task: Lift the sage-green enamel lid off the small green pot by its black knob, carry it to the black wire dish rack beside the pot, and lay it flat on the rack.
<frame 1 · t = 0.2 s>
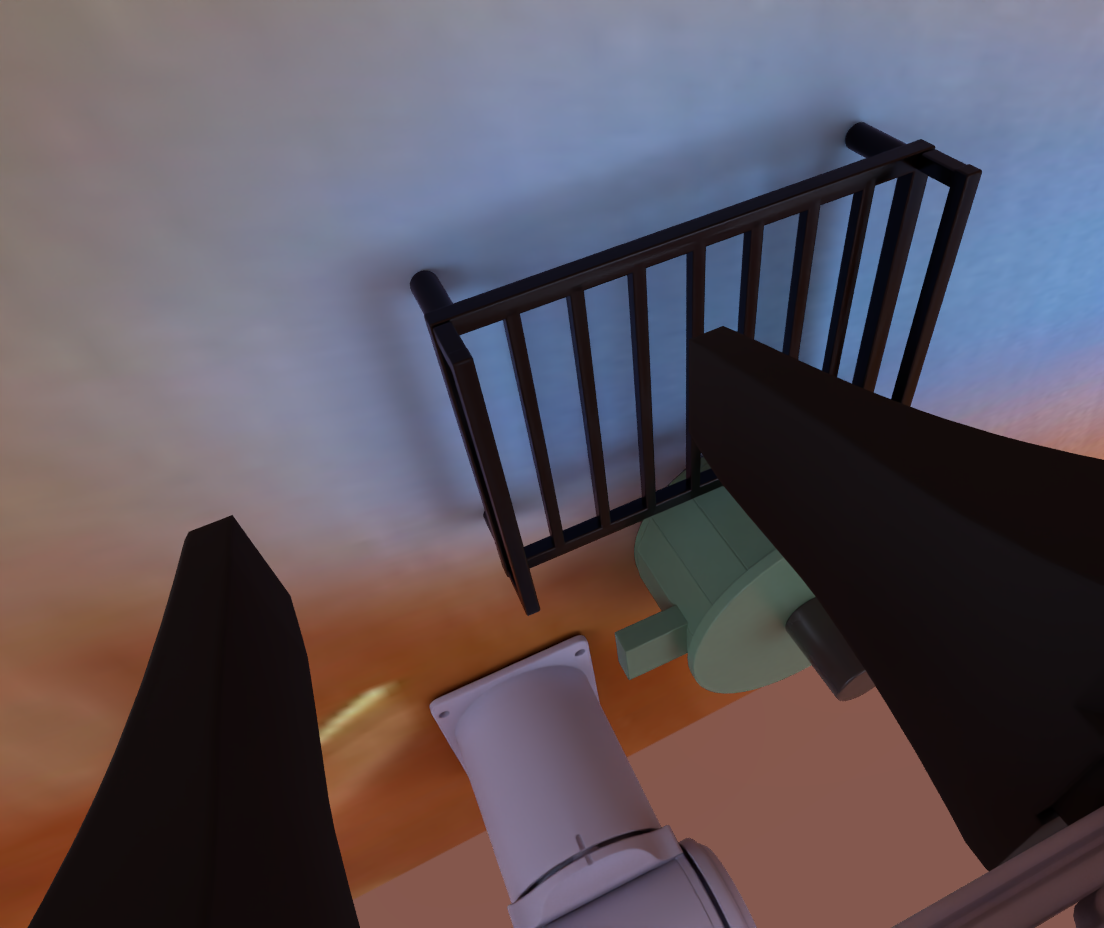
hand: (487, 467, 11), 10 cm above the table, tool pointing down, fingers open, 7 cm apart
lid: (802, 603, 30), point 5 cm above the table, touching pot
rack: (656, 341, 25), on the table
pot: (730, 513, 34), on the table
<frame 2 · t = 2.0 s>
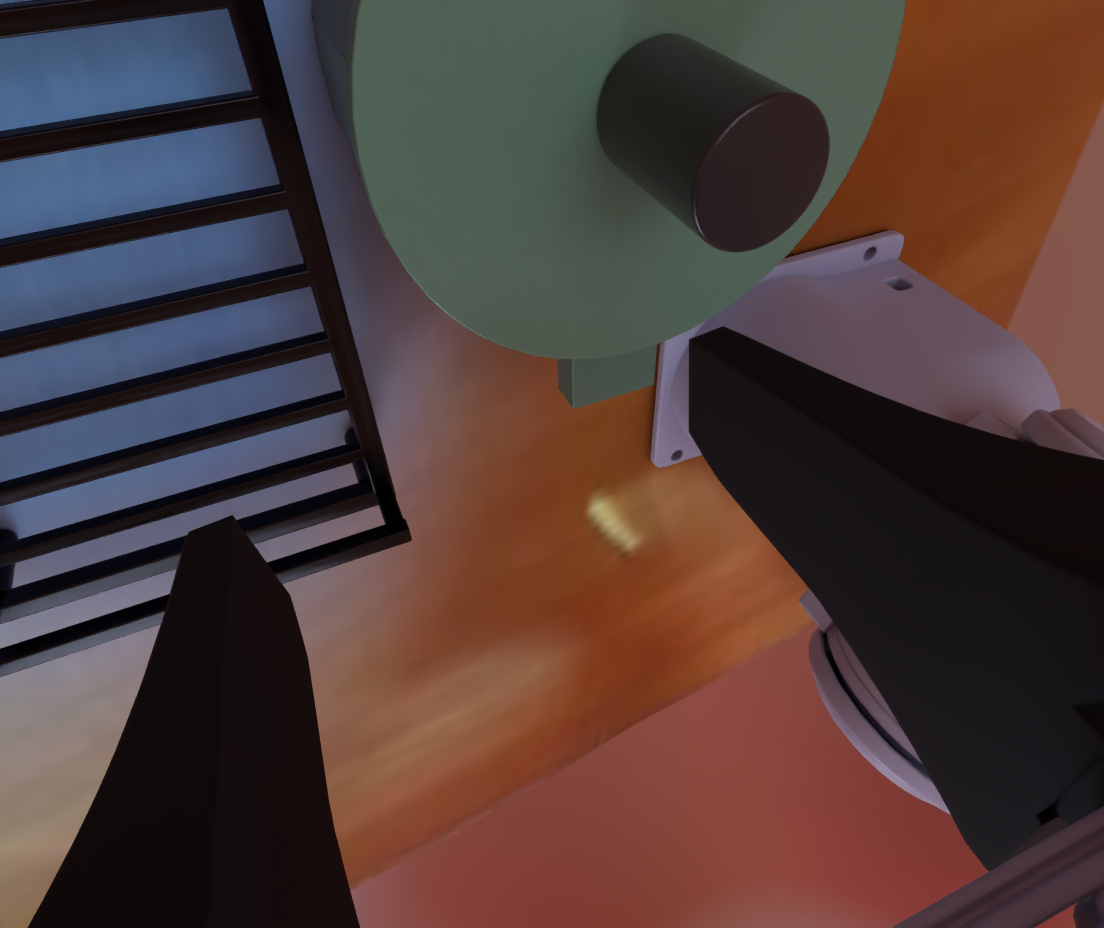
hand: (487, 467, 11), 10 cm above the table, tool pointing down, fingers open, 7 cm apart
lid: (642, 98, 14), point 5 cm above the table, touching pot
rack: (72, 272, 17), on the table
pot: (533, 25, 17), on the table
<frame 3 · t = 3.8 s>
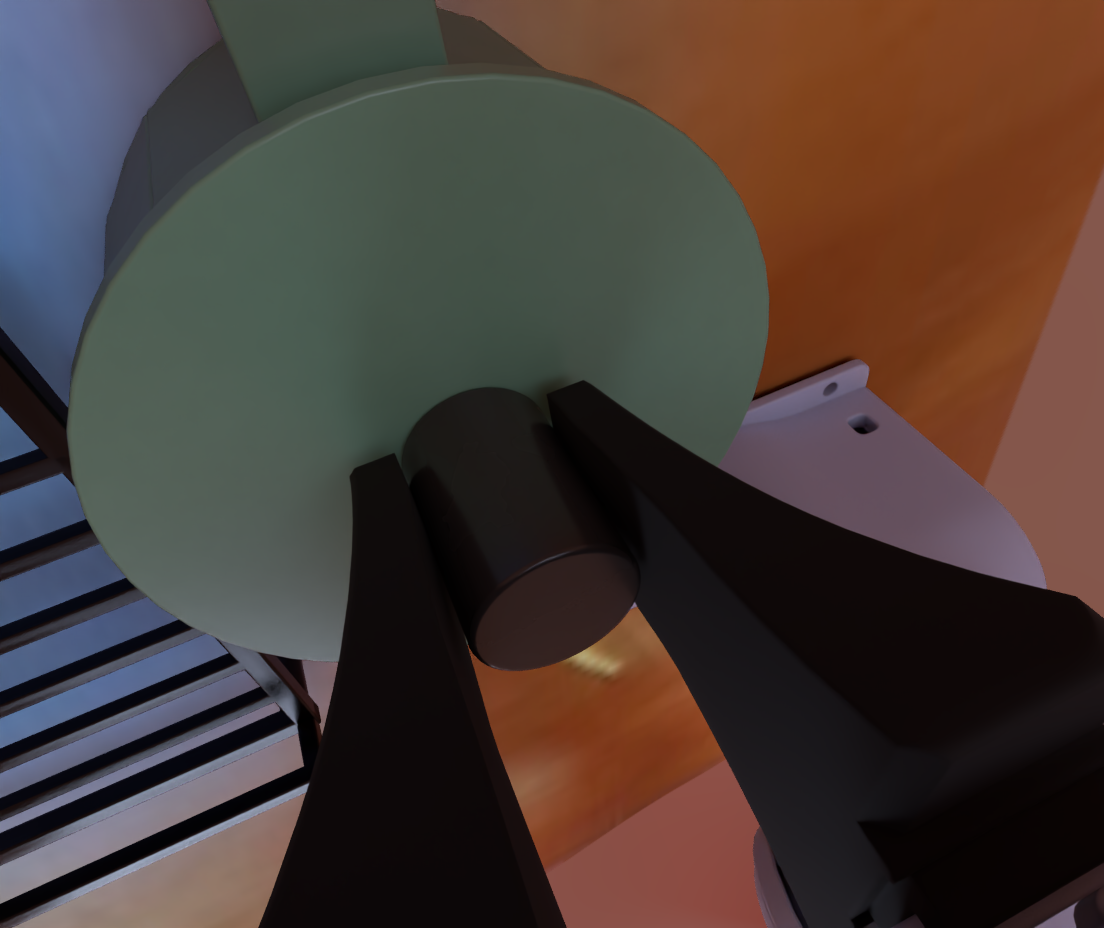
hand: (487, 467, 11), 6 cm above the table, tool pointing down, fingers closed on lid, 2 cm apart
lid: (465, 428, 12), point 5 cm above the table, touching gripper, pot
pot: (387, 271, 16), on the table
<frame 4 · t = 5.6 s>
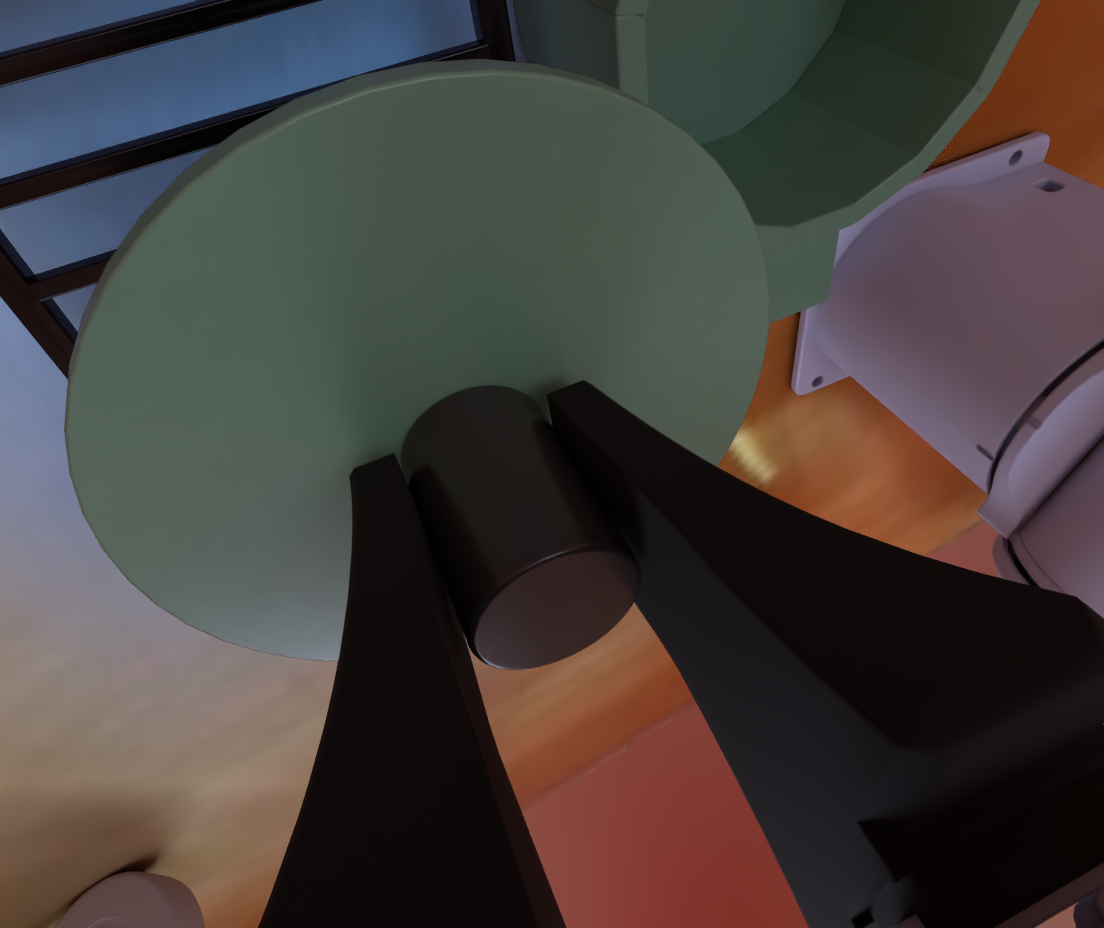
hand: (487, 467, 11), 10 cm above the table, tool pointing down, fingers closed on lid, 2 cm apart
lid: (464, 426, 12), point 9 cm above the table, touching gripper
rack: (296, 235, 18), on the table
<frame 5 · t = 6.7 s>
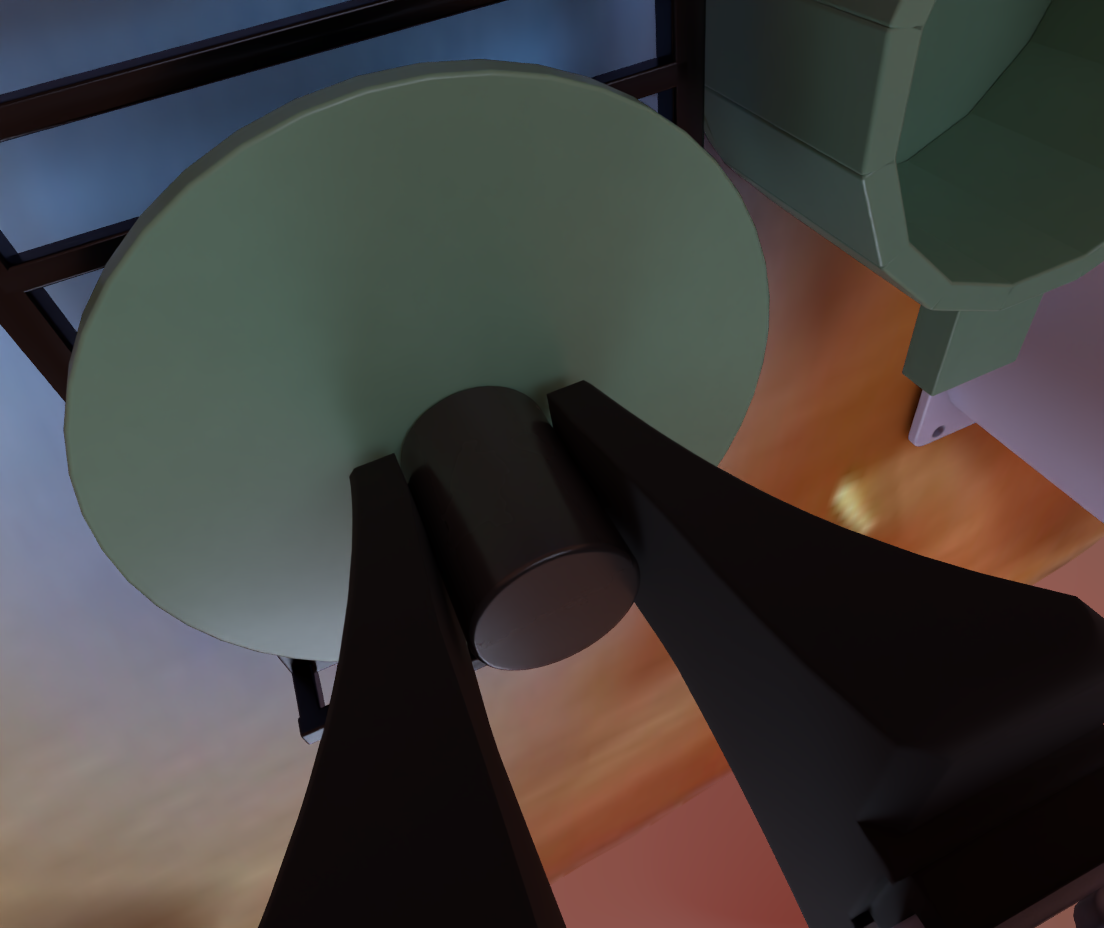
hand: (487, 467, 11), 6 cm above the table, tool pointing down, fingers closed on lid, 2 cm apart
lid: (464, 427, 12), point 5 cm above the table, touching gripper
rack: (397, 289, 15), on the table
when the fingers open (4 cm above the table, at t = 7.4 s): lid stays where it is, resting on rack.
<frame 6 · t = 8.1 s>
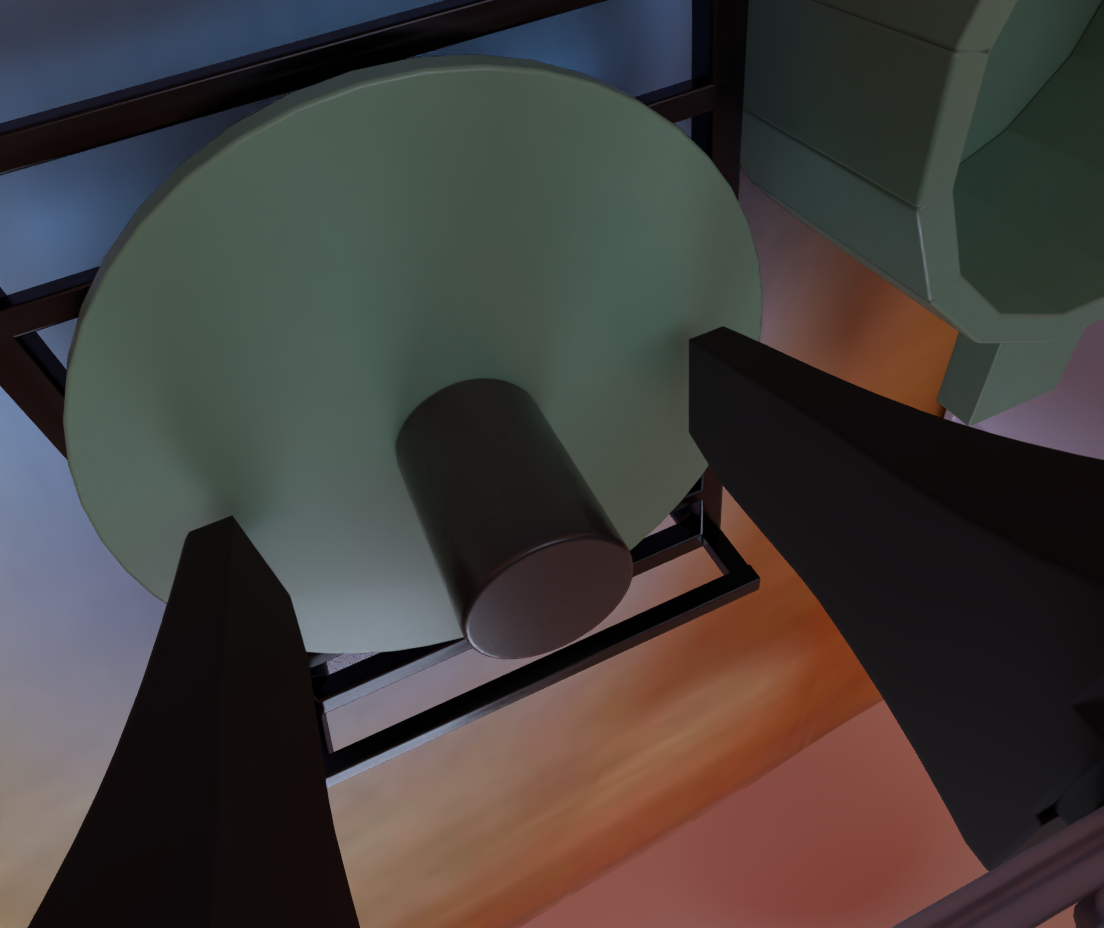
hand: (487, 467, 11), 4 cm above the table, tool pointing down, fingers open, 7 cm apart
lid: (460, 420, 12), point 3 cm above the table, touching rack
rack: (410, 318, 14), on the table
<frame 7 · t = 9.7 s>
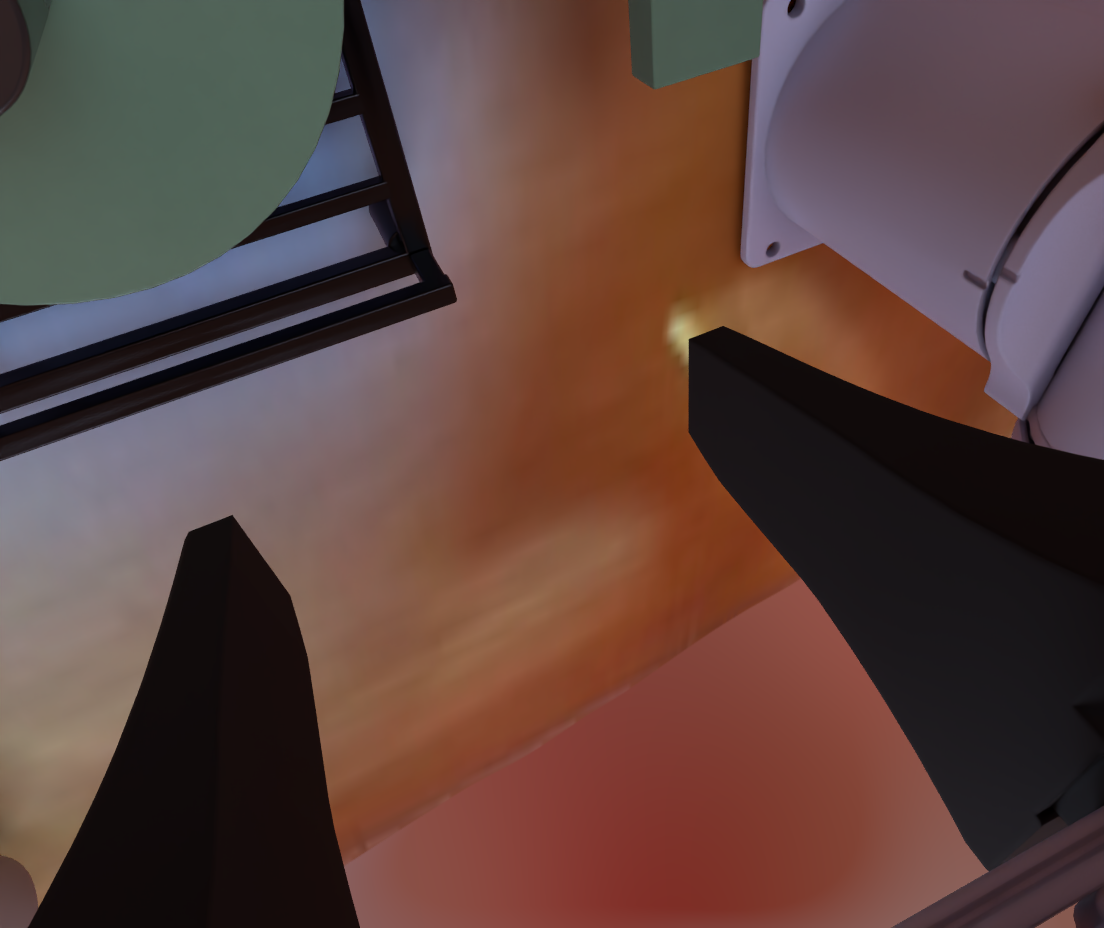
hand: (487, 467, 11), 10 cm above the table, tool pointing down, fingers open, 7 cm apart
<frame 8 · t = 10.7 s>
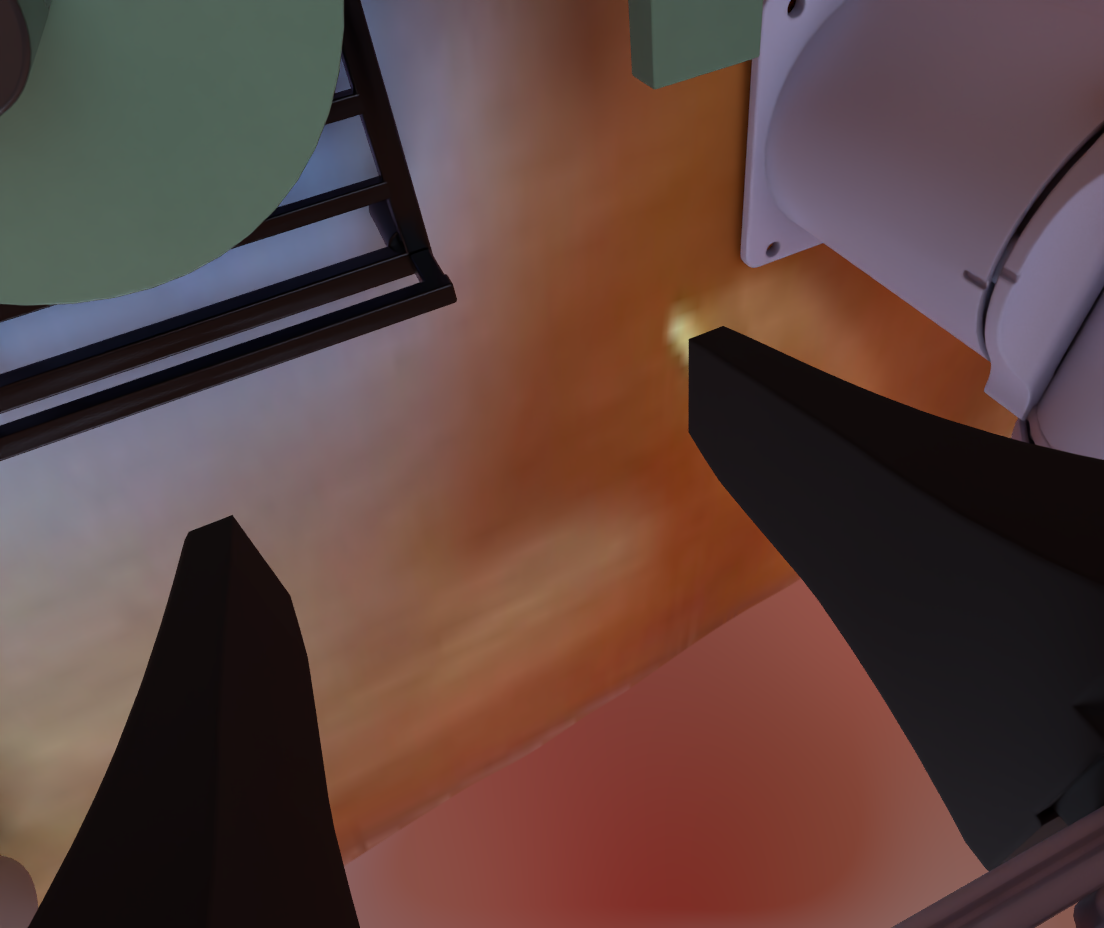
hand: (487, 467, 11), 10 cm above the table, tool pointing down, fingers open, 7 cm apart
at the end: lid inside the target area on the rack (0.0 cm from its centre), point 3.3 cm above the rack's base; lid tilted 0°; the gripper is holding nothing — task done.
